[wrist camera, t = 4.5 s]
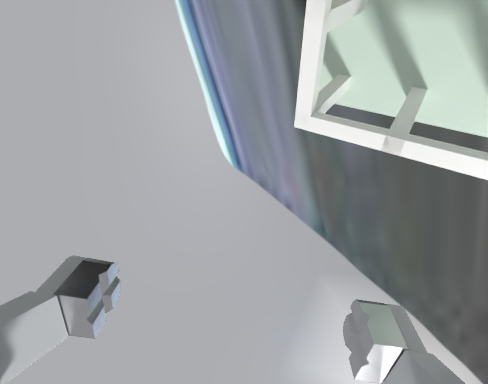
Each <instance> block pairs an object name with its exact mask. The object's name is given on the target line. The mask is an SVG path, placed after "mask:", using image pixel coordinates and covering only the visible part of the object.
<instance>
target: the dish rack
mask: <svg viewBox="0 0 488 384" xmlns="http://www.w3.org/2000/svg"><path fill="white" fill-rule="evenodd" d="M333 104H338V105H343V106H348V107H352V108H357V109H361V110H366V111H370V112H375V113H379V114H384V115H389V116H393V117H396V118H395V120H394V122H393V123H392V125H391V127H390V129H386V128H382V127H378V126H374V125H369V124H365V123H361V122H357V121H353V120H349V119H344V118H340V117H336V116H332V115H328V114H325V113H326V112H327V111H328V109H329V108H330V107H331V106H332V105H333ZM414 121H416V122H420V123H425V124H430V125H434V126H439V127H443V128H448V129H452V130H457V131H461V132H466V133H471V134H475V135H480V136H484V137H488V0H307V3H306V13H305V23H304V33H303V43H302V54H301V64H300V74H299V84H298V94H297V104H296V114H295V125H294V127H296V128H300V129H303V130H307V131H311V132H314V133H318V134H322V135H325V136H329V137H333V138H336V139H340V140H344V141H347V142H351V143H355V144H358V145H362V146H365V147H369V148H373V149H376V150H380V151H384V152H387V153H391V154H395V155H398V156H402V157H406V158H409V159H413V160H416V161H420V162H424V163H427V164H431V165H435V166H438V167H442V168H446V169H449V170H453V171H457V172H460V173H464V174H468V175H471V176H475V177H478V178H482V179H486V180H488V153H486V152H482V151H478V150H474V149H470V148H465V147H461V146H457V145H453V144H449V143H445V142H440V141H436V140H432V139H428V138H424V137H420V136H415V135H411V134H409V132H410V130H411V127H412V125H413V123H414Z"/></svg>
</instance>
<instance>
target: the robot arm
mask: <svg viewBox="0 0 488 384" xmlns="http://www.w3.org/2000/svg"><path fill="white" fill-rule="evenodd" d="M118 272H119V268H118V264H116V263H114V262H108V261H103V260H97V259H91V258H85V257H79V256H71V257H69V258H67V259H66V260H65V261H64V262H63V263H62V264H61V265H60V267H59V268H58V269H57V270H56V271H55V272H54V273H53V274H52V275H51V276H50V277H49V278H48V279H47V280H46V281H45V282H44V283H43V284H42V285H41V286H40V287H39V288H38V290H37V291H36V292H31V291H30V292H28V293H26V294H24V295H22V296H20V297H18V298H15V299H13V300H11V301H9V302H7V303H5V304H3V305H1V306H0V384H6V383H7V382H8V381H10V380H11V379H12V378H13V377H15V376H16V375H18V374H19V373H20V372H22V371H23V370H24V369H26V368H27V367H29V366H30V365H31V364H32V363H34V362H35V361H37V360H38V359H39V358H40V357H42V356H43V355H44V354H46V353H47V352H49V351H50V350H51V349H53V348H54V347H55V346H57V345H58V344H59V343H61V342H62V341H63V340H65V339H66V338H67V337H68V335H70V336H78V337H85V338H94V339H95V338H96V336H97V334H98V333H99V331H100V329H101V328H102V326H103V324H104V323H105V321H106V317H105V313H107V312H108V311H110V310H111V309H113V308H114V306H115V304H116V302H117V300H118V297H119V294H120V288H121V284H120V280H119V279H118V278H117V277H116V275H117V274H118ZM351 310H352V313H351V314H349V315H347V316H346V319H345V321H344V327H343V334H344V340H345V345H346V346H347V347H348V348H349V349H350V351H351V352H352V353H351V355H350V357H349V360H350V364H351V368H352V372H353V376H354V379H355V380H360V381H365V382H371V383H376V384H465V383H464V382H463V381H462V380H461V379H460V378H459V377H457V376H456V375H455V374H454V373H453V372H452V371H451V370H450V369H449V368H447V367H446V366H445V365H444V364H443V363H442V362H441V361H440V360H438V359H437V358H436V357H435V356H434V355H433V354H430V353H427V351H426V349H425V347H424V345H423V343H422V342H421V340H420V338H419V336H418V334H417V332H416V330H415V328H414V326H413V324H412V322H411V320H410V319H409V317H408V315H407V313H406V311H405V309H404V308H403V307H402V306H397V305H390V304H384V303H377V302H370V301H362V300H355V301H353V303H352V305H351Z"/></svg>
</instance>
